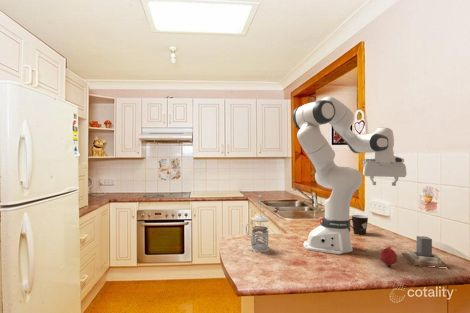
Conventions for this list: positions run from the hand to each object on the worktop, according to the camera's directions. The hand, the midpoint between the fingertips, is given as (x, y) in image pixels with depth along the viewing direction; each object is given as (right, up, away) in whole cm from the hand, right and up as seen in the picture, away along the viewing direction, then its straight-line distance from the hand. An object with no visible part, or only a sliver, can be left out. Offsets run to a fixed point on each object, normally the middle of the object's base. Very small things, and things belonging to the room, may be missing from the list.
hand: (383, 185), depth 148 cm
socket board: (+1, -29, -30) cm, 41 cm away
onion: (-17, -29, -35) cm, 49 cm away
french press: (-67, -28, -15) cm, 75 cm away
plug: (+1, -28, -30) cm, 41 cm away
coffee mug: (-8, -29, +14) cm, 34 cm away
